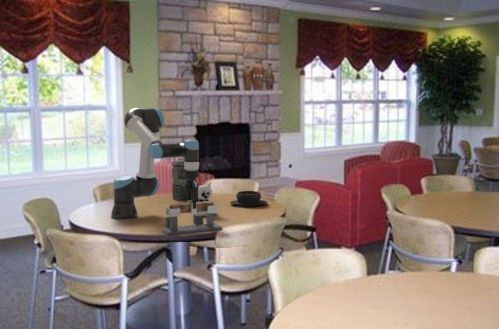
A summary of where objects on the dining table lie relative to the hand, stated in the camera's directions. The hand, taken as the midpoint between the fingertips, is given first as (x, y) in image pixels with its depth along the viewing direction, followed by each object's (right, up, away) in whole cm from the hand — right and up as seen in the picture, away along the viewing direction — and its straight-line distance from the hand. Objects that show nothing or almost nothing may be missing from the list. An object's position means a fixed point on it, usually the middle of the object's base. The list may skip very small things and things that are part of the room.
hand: (192, 213), depth 282 cm
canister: (-16, +2, +97) cm, 98 cm away
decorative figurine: (+3, -5, +42) cm, 42 cm away
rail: (0, +1, 0) cm, 1 cm away
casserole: (+30, -1, +72) cm, 78 cm away
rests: (-5, -8, +13) cm, 16 cm away
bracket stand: (0, -9, +1) cm, 9 cm away
